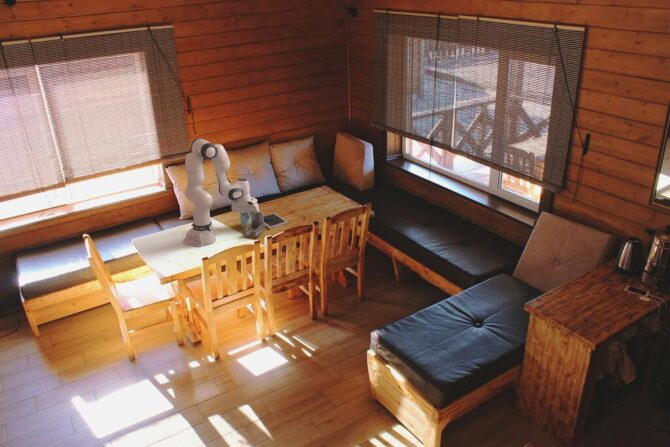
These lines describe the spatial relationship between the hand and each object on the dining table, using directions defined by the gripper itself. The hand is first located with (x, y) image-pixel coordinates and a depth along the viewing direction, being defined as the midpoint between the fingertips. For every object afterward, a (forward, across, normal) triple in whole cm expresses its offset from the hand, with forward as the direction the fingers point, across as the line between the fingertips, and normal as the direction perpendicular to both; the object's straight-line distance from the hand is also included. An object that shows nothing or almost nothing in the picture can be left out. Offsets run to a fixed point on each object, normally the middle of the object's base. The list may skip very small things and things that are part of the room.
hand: (246, 217), depth 415 cm
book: (+4, 0, 0) cm, 4 cm away
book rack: (+7, +10, -9) cm, 15 cm away
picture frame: (+8, +15, +12) cm, 20 cm away
